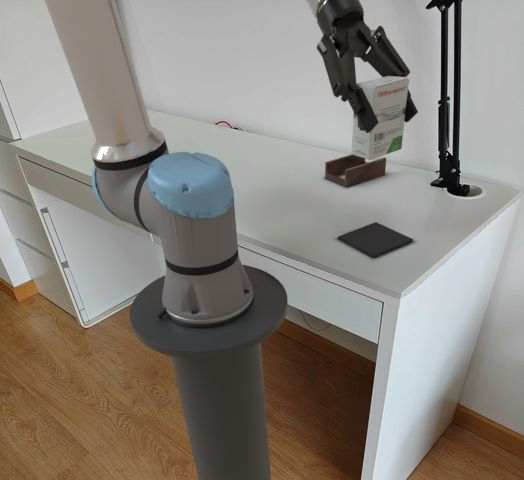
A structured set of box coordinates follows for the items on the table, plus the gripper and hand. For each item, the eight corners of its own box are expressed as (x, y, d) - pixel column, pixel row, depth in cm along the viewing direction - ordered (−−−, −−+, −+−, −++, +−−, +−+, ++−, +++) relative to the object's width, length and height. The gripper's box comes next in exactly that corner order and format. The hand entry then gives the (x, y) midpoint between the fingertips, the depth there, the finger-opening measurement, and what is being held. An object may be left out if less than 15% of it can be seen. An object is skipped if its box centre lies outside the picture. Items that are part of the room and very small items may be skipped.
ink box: (382, 144, 94) (389, 73, 87) (402, 149, 91) (411, 77, 84) (349, 154, 91) (353, 82, 83) (368, 160, 87) (375, 86, 80)
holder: (346, 187, 117) (347, 170, 115) (324, 178, 122) (325, 162, 120) (384, 174, 122) (386, 158, 120) (362, 166, 127) (363, 150, 125)
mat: (373, 258, 90) (373, 255, 90) (337, 239, 97) (337, 236, 96) (412, 241, 94) (413, 239, 94) (375, 224, 101) (375, 221, 100)
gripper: (368, 17, 94) (421, 123, 93) (276, 31, 85) (334, 148, 84) (392, -18, 87) (449, 97, 86) (294, -7, 78) (357, 120, 77)
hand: (392, 122), depth 85 cm, fingers closed on ink box, 9 cm apart
